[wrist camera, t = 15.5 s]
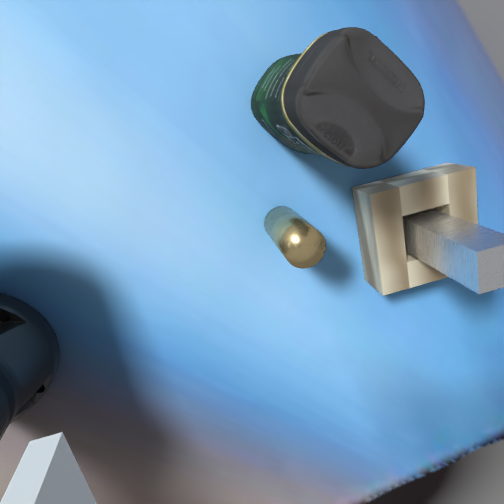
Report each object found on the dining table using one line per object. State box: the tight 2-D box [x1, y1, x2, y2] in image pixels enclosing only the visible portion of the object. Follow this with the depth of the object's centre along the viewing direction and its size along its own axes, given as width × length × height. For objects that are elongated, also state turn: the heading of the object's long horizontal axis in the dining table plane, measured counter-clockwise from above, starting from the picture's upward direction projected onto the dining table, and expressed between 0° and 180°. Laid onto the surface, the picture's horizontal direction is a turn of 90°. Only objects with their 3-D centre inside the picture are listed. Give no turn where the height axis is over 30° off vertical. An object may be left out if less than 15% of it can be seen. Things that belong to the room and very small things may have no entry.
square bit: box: [402, 208, 504, 294], centre depth 41 cm, size 4×4×14 cm
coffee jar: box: [251, 27, 425, 169], centre depth 35 cm, size 10×8×19 cm
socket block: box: [352, 163, 478, 296], centre depth 48 cm, size 12×12×5 cm
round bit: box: [264, 206, 326, 268], centre depth 43 cm, size 4×4×10 cm
